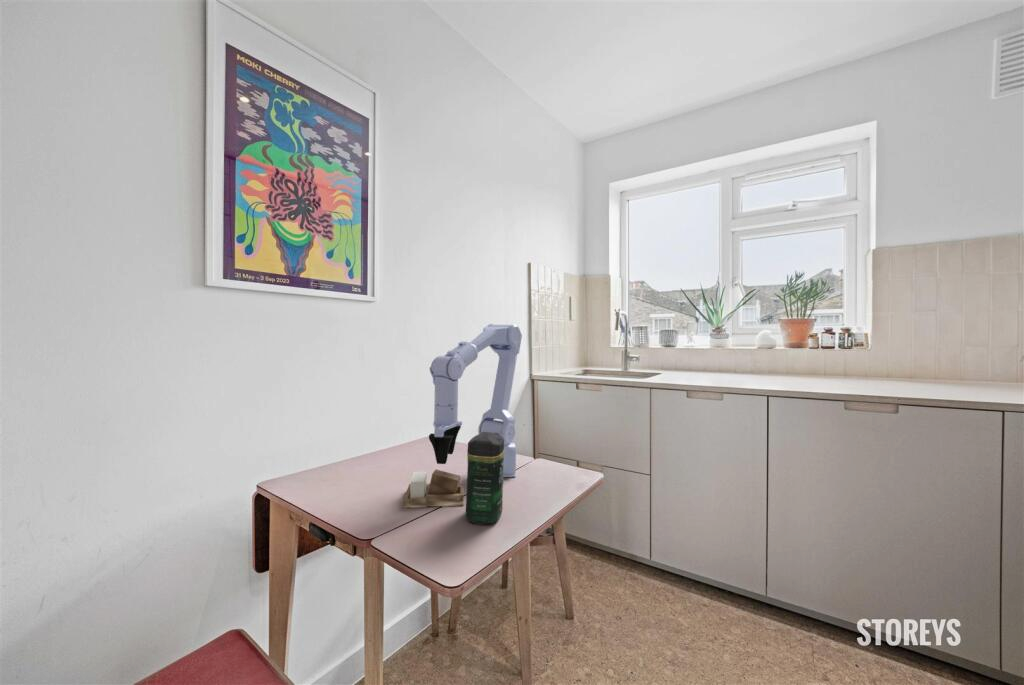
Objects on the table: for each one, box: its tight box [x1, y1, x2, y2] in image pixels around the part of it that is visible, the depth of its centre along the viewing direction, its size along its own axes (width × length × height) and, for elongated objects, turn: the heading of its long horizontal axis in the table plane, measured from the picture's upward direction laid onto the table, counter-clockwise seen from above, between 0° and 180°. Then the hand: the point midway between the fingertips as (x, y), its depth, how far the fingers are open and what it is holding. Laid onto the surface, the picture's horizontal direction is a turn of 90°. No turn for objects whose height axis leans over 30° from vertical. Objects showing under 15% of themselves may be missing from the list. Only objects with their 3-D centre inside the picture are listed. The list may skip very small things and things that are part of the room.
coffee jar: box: [465, 432, 504, 525], centre depth 90 cm, size 10×8×19 cm
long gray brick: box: [409, 471, 428, 499], centre depth 99 cm, size 3×7×5 cm, turn 7°
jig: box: [402, 482, 465, 508], centre depth 99 cm, size 14×10×2 cm
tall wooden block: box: [428, 469, 461, 495], centre depth 99 cm, size 7×3×5 cm, turn 86°
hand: (445, 458), depth 99 cm, fingers open, 7 cm apart
